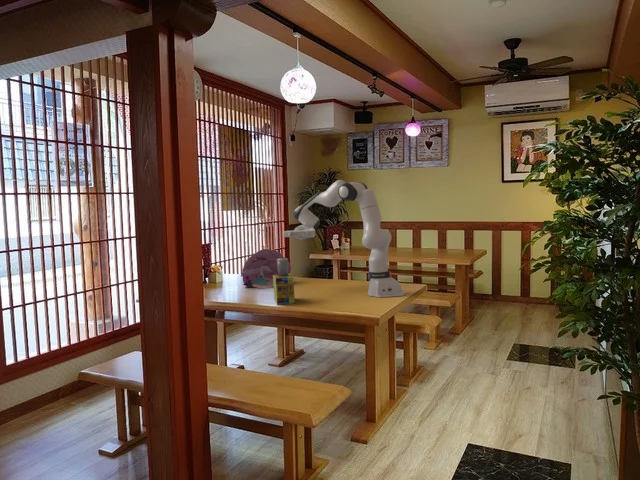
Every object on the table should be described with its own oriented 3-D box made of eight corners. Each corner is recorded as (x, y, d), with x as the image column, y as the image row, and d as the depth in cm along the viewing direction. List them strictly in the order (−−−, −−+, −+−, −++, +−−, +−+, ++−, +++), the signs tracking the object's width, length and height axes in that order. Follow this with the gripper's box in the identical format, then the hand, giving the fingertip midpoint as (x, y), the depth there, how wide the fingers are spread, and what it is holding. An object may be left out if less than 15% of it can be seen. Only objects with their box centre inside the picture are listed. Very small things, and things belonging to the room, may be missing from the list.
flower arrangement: (254, 298, 332) (253, 258, 324) (232, 288, 348) (231, 249, 340) (292, 284, 357) (292, 247, 348) (270, 275, 372) (270, 239, 364)
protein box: (277, 305, 284) (275, 278, 282) (274, 299, 299) (272, 274, 297) (295, 303, 286) (293, 276, 284) (291, 298, 301) (290, 273, 299)
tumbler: (289, 274, 294) (288, 257, 293) (287, 276, 287) (286, 259, 286) (278, 275, 294) (277, 258, 293) (276, 276, 288) (275, 259, 287)
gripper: (284, 228, 318) (280, 230, 305) (316, 227, 316) (313, 228, 303) (285, 238, 319) (281, 240, 305) (316, 236, 317) (314, 238, 303)
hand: (297, 234), depth 304 cm, fingers open, 8 cm apart
